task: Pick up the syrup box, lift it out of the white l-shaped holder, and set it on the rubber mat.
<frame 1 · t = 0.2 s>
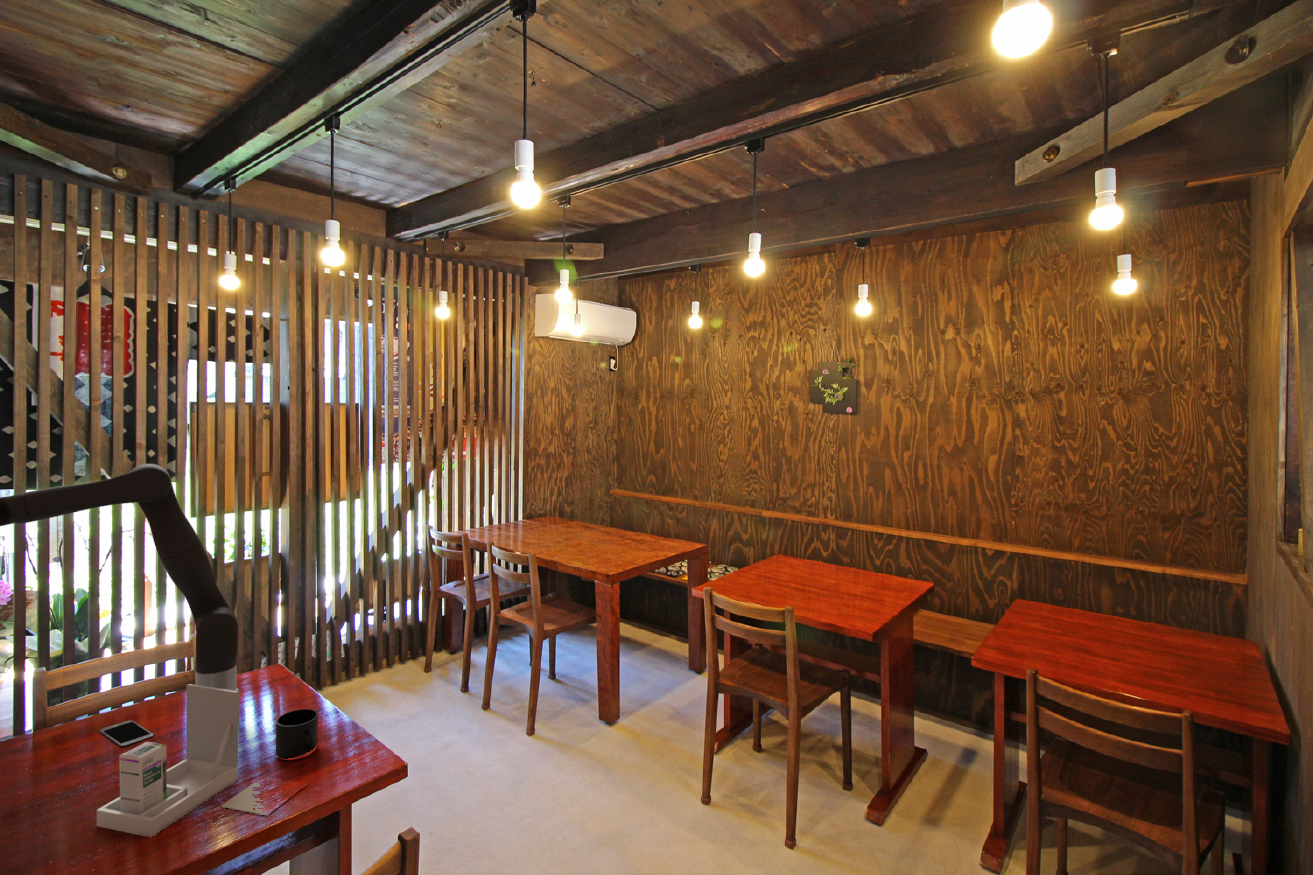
syrup box: (143, 815, 136), resting in white l-shaped holder
smartphone: (126, 735, 168), on the table
white l-shaped holder: (171, 801, 140), on the table
rubber mat: (265, 795, 144), on the table
mug: (299, 753, 161), on the table
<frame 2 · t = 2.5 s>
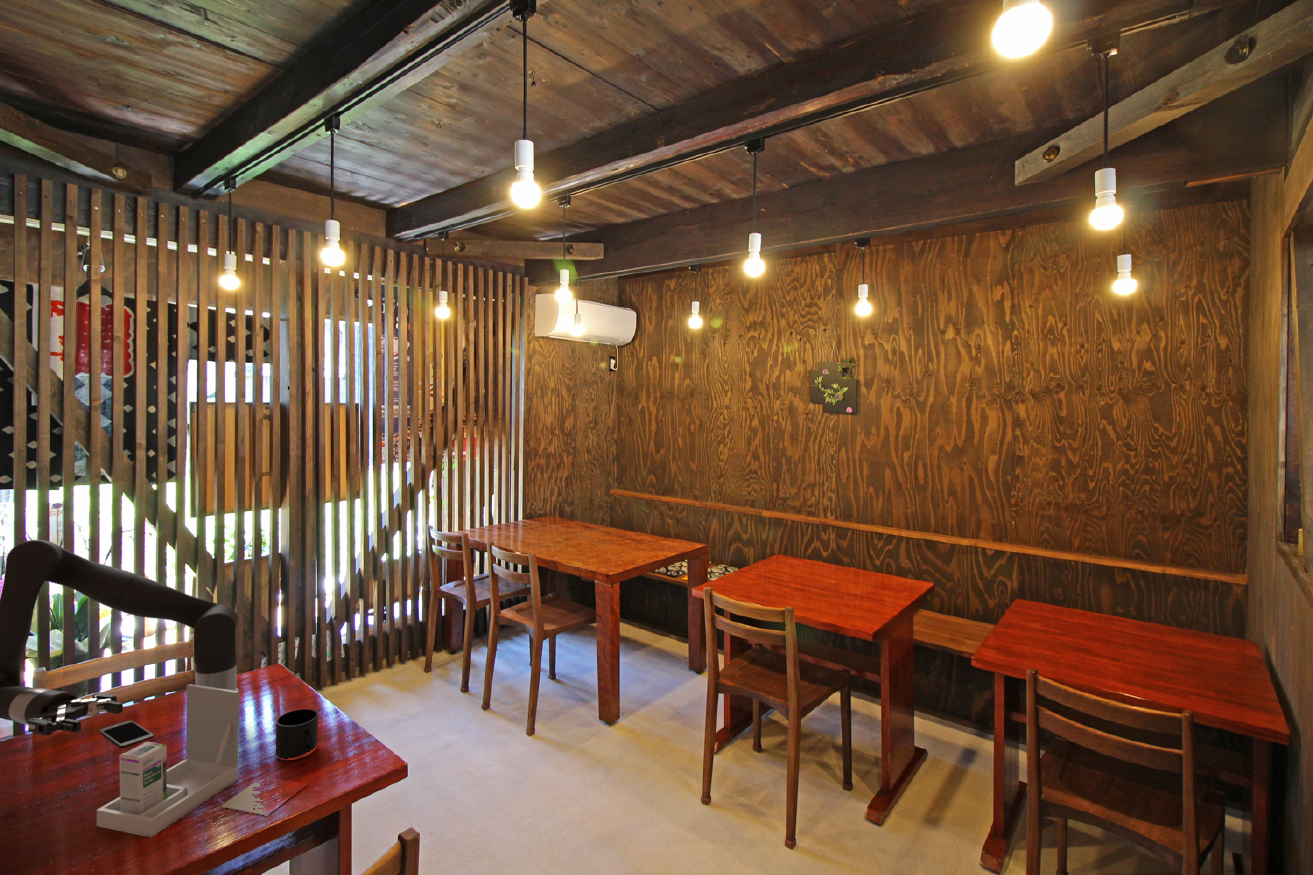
hand: (100, 717, 137), 20 cm above the table, tool horizontal, fingers open, 8 cm apart
nothing on the table moved.
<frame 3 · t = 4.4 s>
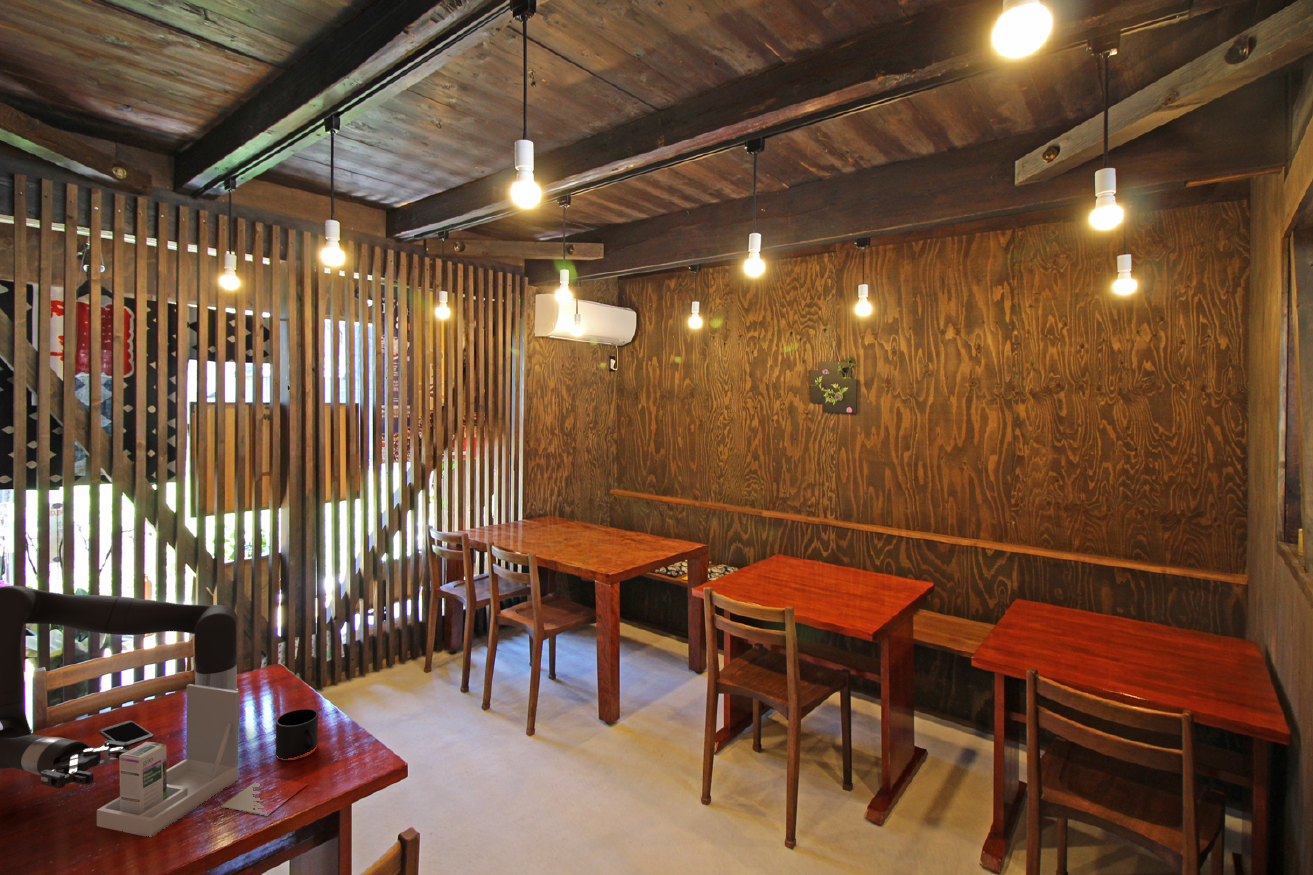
hand: (113, 767, 137), 9 cm above the table, tool horizontal, fingers open, 8 cm apart
nothing on the table moved.
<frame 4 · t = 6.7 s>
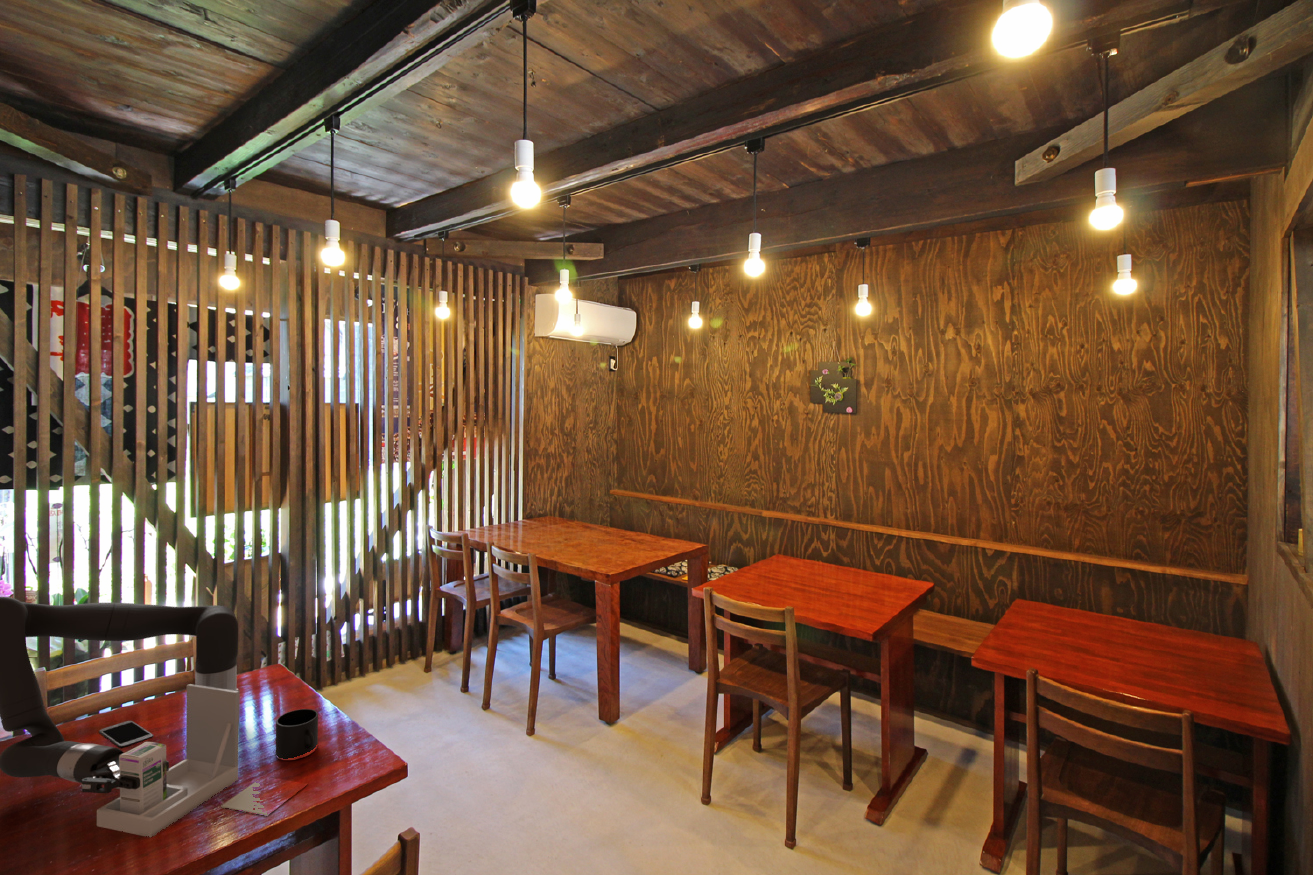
hand: (153, 775, 135), 9 cm above the table, tool horizontal, fingers closed on syrup box, 5 cm apart
syrup box: (143, 815, 136), resting in white l-shaped holder, touching gripper
everything else where it was.
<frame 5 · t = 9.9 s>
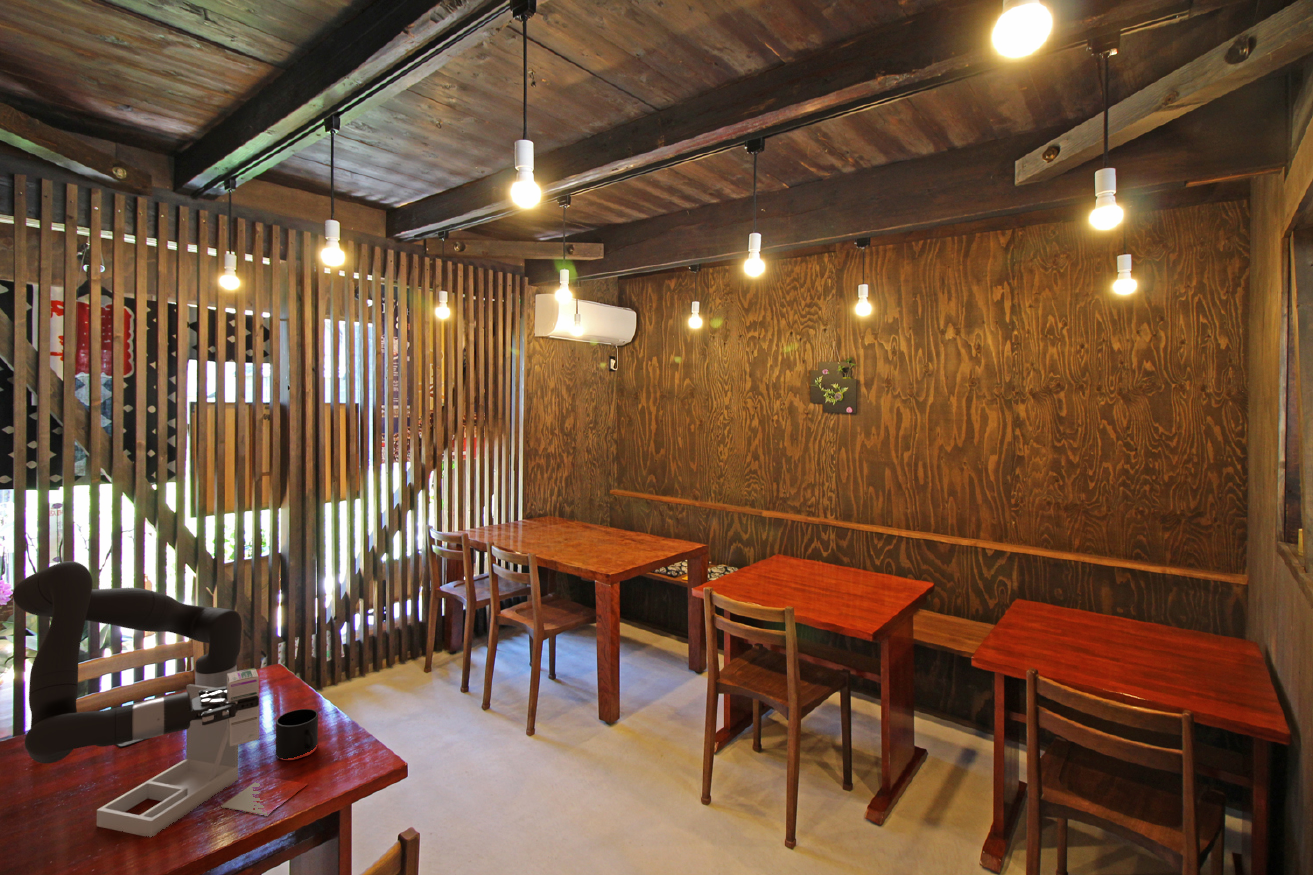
hand: (256, 695, 141), 24 cm above the table, tool horizontal, fingers closed on syrup box, 5 cm apart
syrup box: (242, 738, 140), point 15 cm above the table, touching gripper
everything else where it was.
when the fingers open (10 cm above the table, at t = 13.3 s): syrup box stays where it is, resting on rubber mat.
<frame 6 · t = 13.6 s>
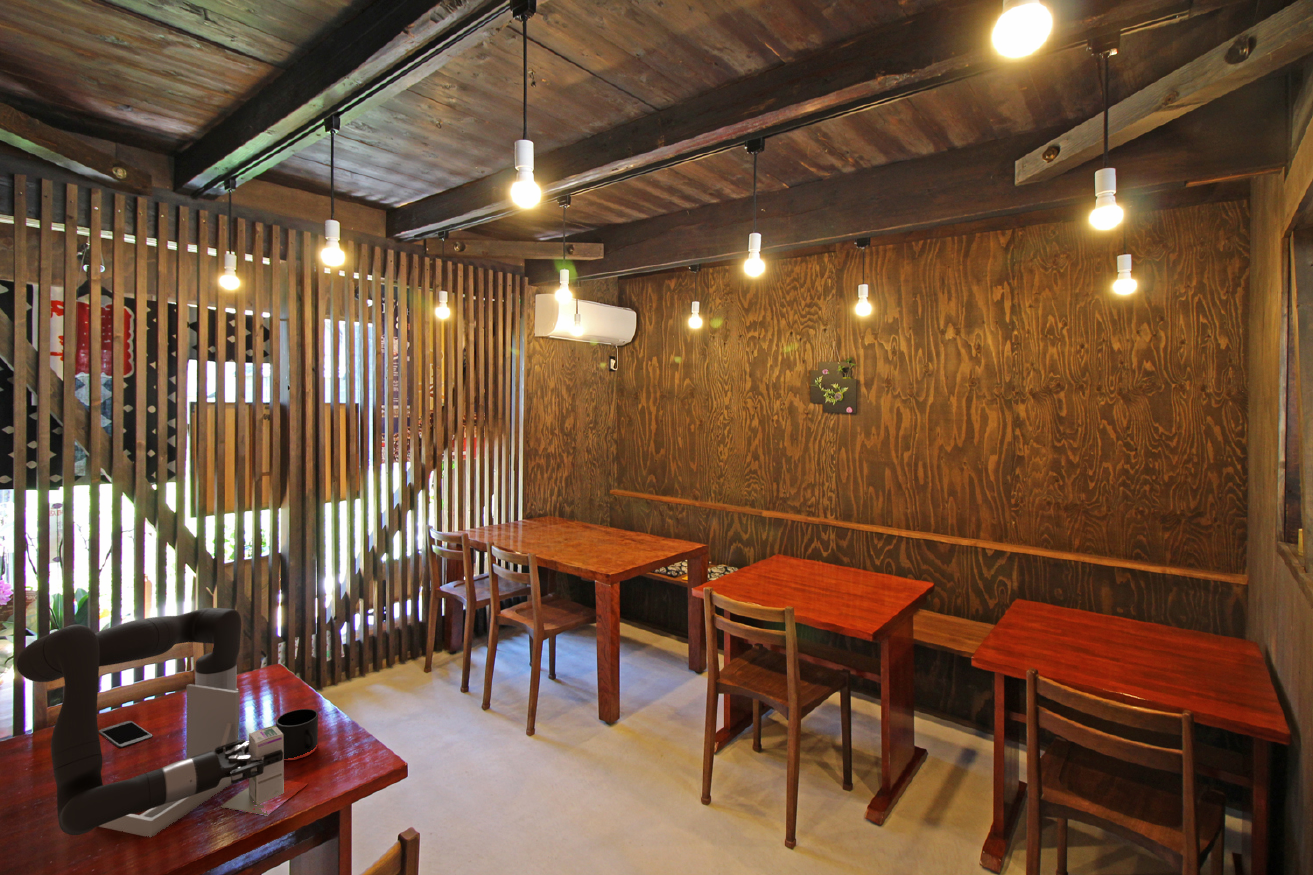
hand: (276, 747, 145), 10 cm above the table, tool horizontal, fingers open, 8 cm apart
syrup box: (265, 795, 143), resting on rubber mat
everything else where it was.
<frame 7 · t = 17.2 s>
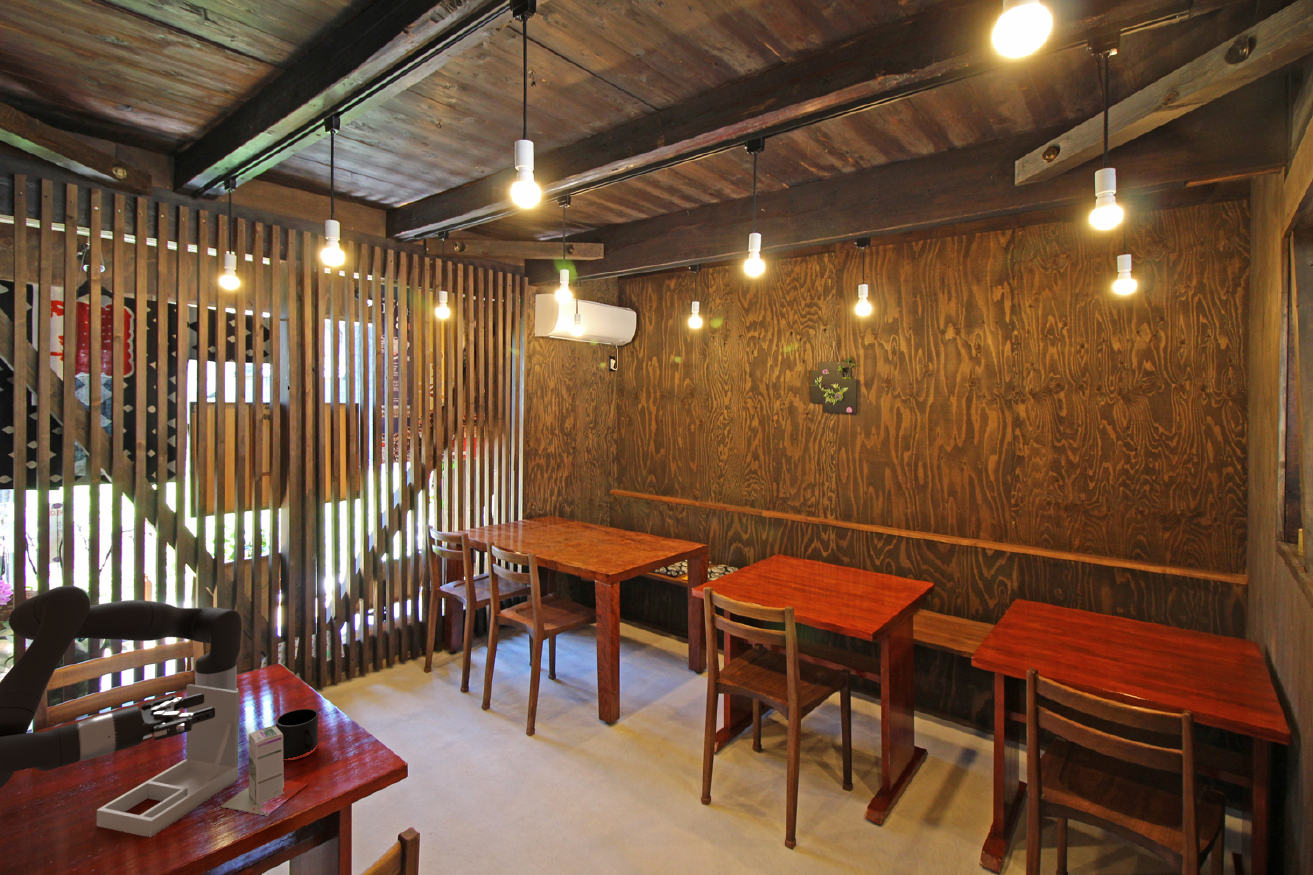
hand: (209, 704, 134), 25 cm above the table, tool horizontal, fingers open, 8 cm apart
nothing on the table moved.
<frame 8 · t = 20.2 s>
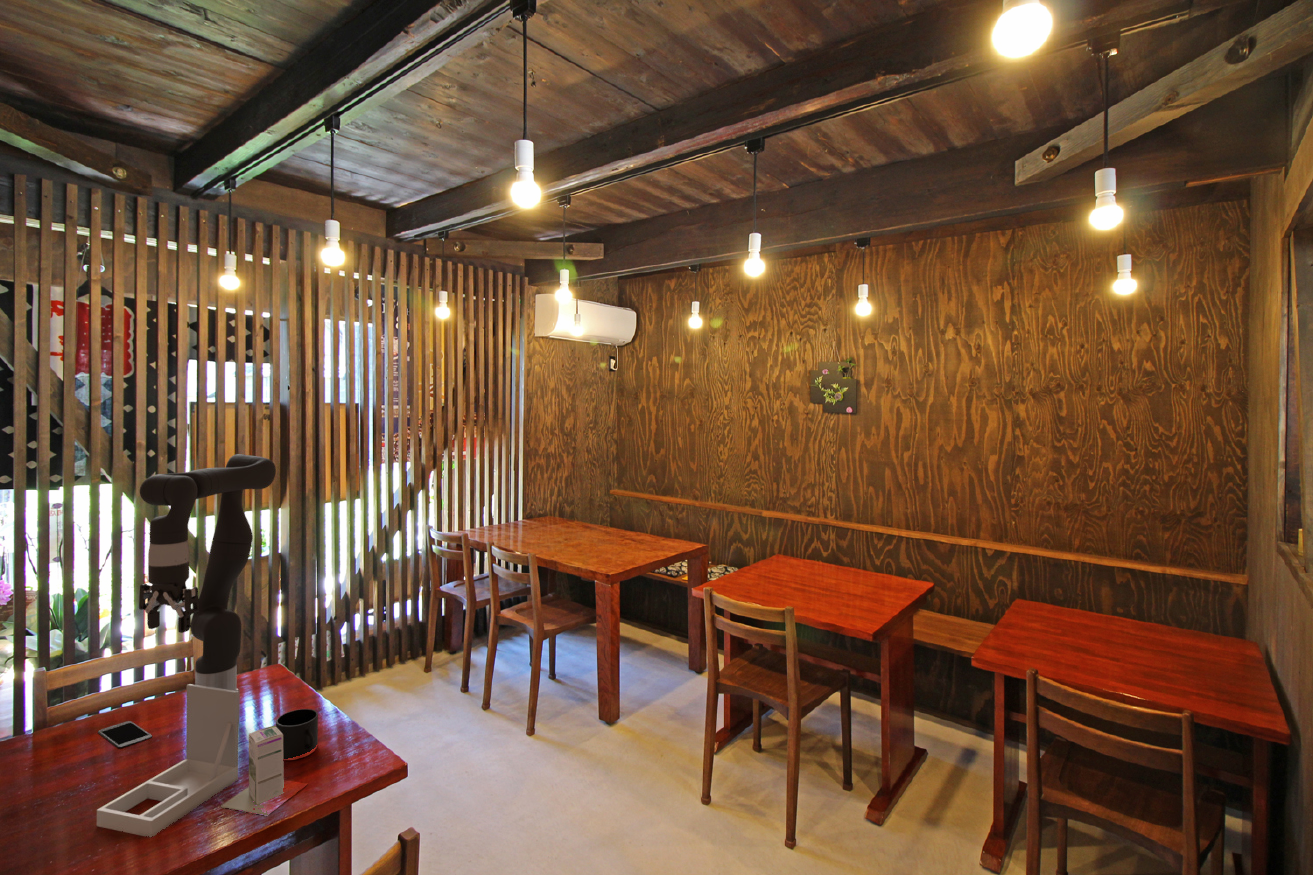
hand: (168, 629, 146), 36 cm above the table, tool pointing down, fingers open, 8 cm apart
nothing on the table moved.
at the end: syrup box inside the target area on the rubber mat (0.4 cm from its centre), point 0.2 cm above the rubber mat's base; syrup box tilted 0°; the gripper is holding nothing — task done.
